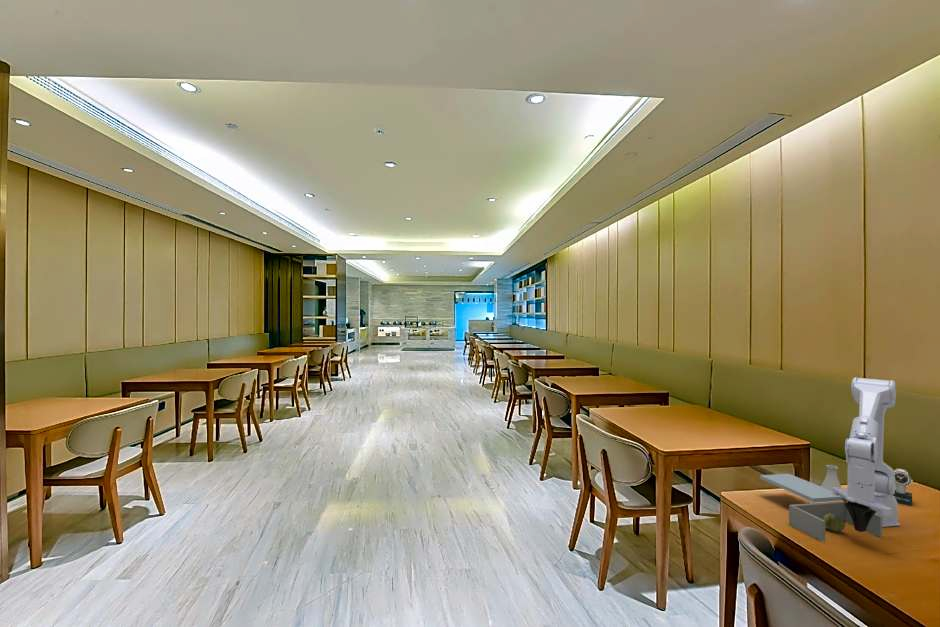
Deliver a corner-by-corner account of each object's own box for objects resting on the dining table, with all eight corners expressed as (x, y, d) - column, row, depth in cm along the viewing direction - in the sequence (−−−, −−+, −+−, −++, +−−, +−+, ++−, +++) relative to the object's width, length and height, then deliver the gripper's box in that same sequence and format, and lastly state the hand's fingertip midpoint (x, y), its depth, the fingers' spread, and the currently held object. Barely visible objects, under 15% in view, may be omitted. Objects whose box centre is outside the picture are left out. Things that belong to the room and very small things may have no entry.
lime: (821, 526, 135) (821, 509, 135) (841, 529, 133) (841, 512, 133) (826, 533, 131) (826, 515, 131) (847, 536, 129) (847, 518, 129)
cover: (850, 501, 138) (850, 496, 138) (816, 503, 136) (816, 499, 136) (791, 476, 159) (791, 473, 159) (760, 478, 157) (760, 474, 157)
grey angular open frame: (844, 520, 139) (844, 501, 139) (882, 537, 128) (882, 516, 128) (789, 524, 136) (789, 504, 136) (822, 542, 125) (823, 521, 125)
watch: (889, 502, 153) (889, 470, 153) (890, 496, 159) (890, 465, 159) (912, 507, 149) (912, 474, 149) (912, 501, 155) (912, 469, 155)
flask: (849, 499, 155) (850, 470, 156) (826, 497, 157) (826, 468, 157) (837, 491, 163) (837, 463, 163) (814, 489, 164) (815, 462, 164)
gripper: (823, 473, 131) (823, 519, 131) (876, 493, 117) (876, 544, 117) (844, 472, 133) (843, 517, 133) (898, 491, 118) (898, 542, 118)
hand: (860, 530), depth 125 cm, fingers closed
